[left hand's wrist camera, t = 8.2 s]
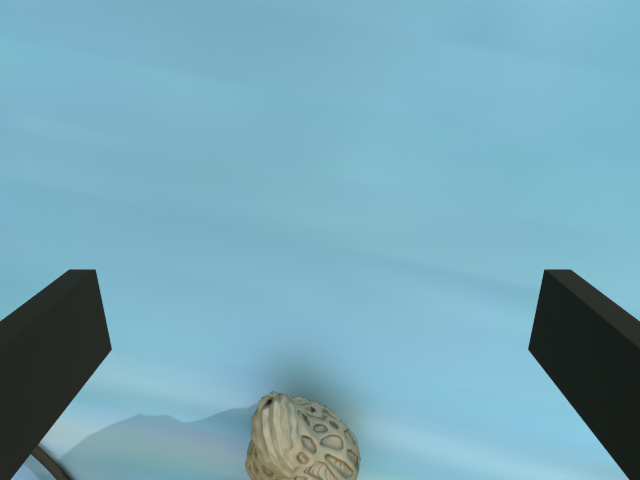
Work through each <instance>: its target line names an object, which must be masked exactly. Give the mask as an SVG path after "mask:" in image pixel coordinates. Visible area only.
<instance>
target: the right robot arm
mask: <svg viewBox="0 0 640 480" xmlns="http://www.w3.org/2000/svg"><path fill="white" fill-rule="evenodd" d="M31 455H33V456H34V457H35V458H36V459H37V460H38V461H39V462H40V463H41V464H42V465H44V466H45V467H46V468H47V470H48V471H49V472H50V473H51V474H52V475H53V476H54V477H55V478H56V479H57V480H70V478H69V477H68V476H67V475H66V474H65V472H64V471H63V470H62V469H61V468H60V467H59V466H58V465H57V463H56V462H55V461H54V460H53V459H52V458H51V457H50V456H49V455H48V454H47V453H45V452H44V451H43V450H42V449H41V448H40V447H39V446H38V445H37V446H36V448H35V449H34V450H33V451H32V453H31Z"/></svg>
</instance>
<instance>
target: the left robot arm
mask: <svg viewBox="0 0 640 480" xmlns="http://www.w3.org/2000/svg"><path fill="white" fill-rule="evenodd" d="M111 350H112V348H111V343H110V338H109V333H108V328H107V323H106V318H105V313H104V309H103V304H102V299H101V294H100V289H99V284H98V279H97V274H96V270H68V271H67V272H66V273H64V274H63V275H62V276H60V277H59V278H58V279H56V280H55V281H54V282H52V283H51V284H50V285H48V286H47V287H46V288H44V289H43V290H42V291H40V292H39V293H38V294H36V295H35V296H34V297H32V298H31V299H30V300H28V301H27V302H26V303H24V304H23V305H22V306H20V307H19V308H18V309H16V310H15V311H14V312H12V313H11V314H10V315H8V316H7V317H6V318H4V319H3V320H2V321H0V480H11V478H12V477H13V476H14V475H15V473H16V472H17V471H18V469H19V468H20V467H21V466H22V464H23V463H24V462H25V460H26V459H27V458H28V457H29V455H30V454H31V453H32V451H33V450H34V449H35V448H36V446H37V445H38V444H39V442H40V441H41V440H42V439H43V437H44V436H45V435H46V433H47V432H48V431H49V430H50V428H51V427H52V426H53V424H54V423H55V422H56V421H57V419H58V418H59V417H60V415H61V414H62V413H63V412H64V410H65V409H66V408H67V406H68V405H69V404H70V403H71V401H72V400H73V399H74V397H75V396H76V395H77V394H78V392H79V391H80V390H81V388H82V387H83V386H84V385H85V383H86V382H87V381H88V379H89V378H90V377H91V375H92V374H93V373H94V372H95V370H96V369H97V368H98V366H99V365H100V364H101V363H102V361H103V360H104V359H105V357H106V356H107V355H108V354H109V352H110V351H111ZM528 350H529V351H530V352H531V354H532V355H533V356H534V357H535V359H536V360H537V361H538V363H539V364H540V365H541V366H542V368H543V369H544V370H545V372H546V373H547V374H548V375H549V377H550V378H551V379H552V381H553V382H554V383H555V385H556V386H557V387H558V388H559V390H560V391H561V392H562V394H563V395H564V396H565V397H566V399H567V400H568V401H569V403H570V404H571V405H572V406H573V408H574V409H575V410H576V412H577V413H578V414H579V415H580V417H581V418H582V419H583V421H584V422H585V423H586V424H587V426H588V427H589V428H590V430H591V431H592V432H593V433H594V435H595V436H596V437H597V439H598V440H599V441H600V442H601V444H602V445H603V446H604V448H605V449H606V450H607V451H608V453H609V454H610V455H611V457H612V458H613V459H614V460H615V462H616V463H617V464H618V466H619V467H620V468H621V469H622V471H623V472H624V473H625V475H626V476H627V477H628V478H629V480H640V321H638V320H637V319H636V318H634V317H633V316H632V315H630V314H629V313H628V312H626V311H625V310H624V309H622V308H621V307H620V306H618V305H617V304H616V303H614V302H613V301H612V300H610V299H609V298H608V297H606V296H605V295H604V294H602V293H601V292H600V291H598V290H597V289H596V288H594V287H593V286H592V285H590V284H589V283H588V282H586V281H585V280H584V279H582V278H581V277H580V276H578V275H577V274H576V273H574V272H573V271H572V270H544V274H543V279H542V284H541V289H540V294H539V299H538V304H537V309H536V313H535V318H534V323H533V328H532V333H531V338H530V343H529V348H528Z"/></svg>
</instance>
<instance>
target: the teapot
mask: <svg viewBox="0 0 640 480" xmlns="http://www.w3.org/2000/svg"><path fill="white" fill-rule="evenodd" d="M347 428H348V427H347V426H346V425H345V424H344V423H343V422H342V420H341V419H340V418H339V417H338V416H336V415H335V414H334V413H333V411H331V410H330V409H328V408H327V407H326V406H322V405H320V404H319V403H316V402H313V401H310V400H307V399H305V398H303V397H300V396H299V397H296V398H292V397H291V396H290V395H285V394H279V393H277V392H275V391H272V392H271V393H270V394H269V395H267V396H265V397H262V398H261V400H260V401H259V404H258V409H257V410H256V412H255V414H254V415H253V417H252V433H251V438H252V440H251V442H250V443H249V447H248V452H247V460H246V463H245V466H246V470H247V473H248V475H249V476H250V478H251V479H252V480H356V479H357V475H358V472H359V466H360V460H361V459H360V454H359V448H358V443H357V440H356V438H355V436H354V434H353V433H352V432H351V431H350V430H349V429H347Z"/></svg>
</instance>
